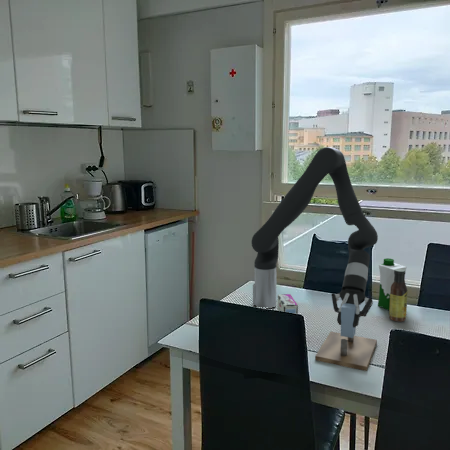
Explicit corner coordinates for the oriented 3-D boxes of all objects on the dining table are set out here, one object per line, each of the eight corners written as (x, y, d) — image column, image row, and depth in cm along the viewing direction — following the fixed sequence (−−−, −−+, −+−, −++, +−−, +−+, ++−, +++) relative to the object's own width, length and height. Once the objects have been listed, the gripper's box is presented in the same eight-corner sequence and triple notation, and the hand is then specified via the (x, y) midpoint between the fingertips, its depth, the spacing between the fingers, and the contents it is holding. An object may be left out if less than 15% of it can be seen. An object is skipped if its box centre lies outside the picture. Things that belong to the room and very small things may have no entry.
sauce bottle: (407, 323, 168) (410, 273, 164) (390, 322, 169) (393, 272, 166) (404, 316, 174) (407, 268, 171) (387, 315, 176) (390, 267, 172)
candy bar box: (297, 351, 148) (298, 305, 145) (283, 352, 148) (283, 305, 144) (290, 336, 159) (290, 293, 156) (276, 337, 158) (276, 293, 155)
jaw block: (340, 335, 145) (341, 307, 143) (343, 331, 148) (343, 302, 146) (352, 338, 143) (353, 308, 141) (355, 333, 146) (356, 304, 144)
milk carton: (389, 301, 190) (391, 256, 186) (406, 308, 182) (409, 262, 178) (374, 305, 186) (376, 259, 182) (391, 312, 178) (394, 265, 174)
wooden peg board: (315, 360, 142) (315, 341, 140) (330, 335, 159) (330, 318, 158) (366, 371, 135) (367, 351, 133) (376, 343, 152) (377, 326, 151)
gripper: (333, 271, 152) (323, 317, 143) (376, 276, 145) (368, 324, 137) (336, 281, 157) (327, 326, 149) (378, 286, 151) (370, 333, 143)
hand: (347, 325), depth 143 cm, fingers closed on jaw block, 4 cm apart
